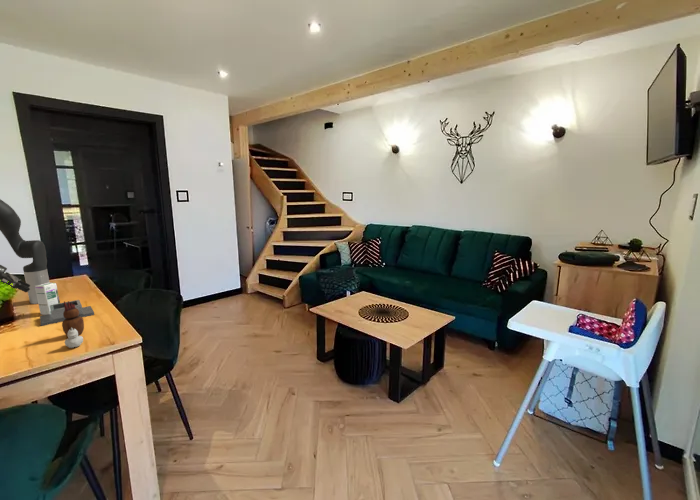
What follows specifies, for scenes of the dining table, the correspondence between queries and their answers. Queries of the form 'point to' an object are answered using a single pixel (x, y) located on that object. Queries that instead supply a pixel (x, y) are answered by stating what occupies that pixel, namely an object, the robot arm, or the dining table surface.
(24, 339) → the dining table surface
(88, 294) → the dining table surface
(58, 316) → the steel sleeve
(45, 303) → the syrup box
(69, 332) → the rubber duck
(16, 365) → the dining table surface
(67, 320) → the wooden figurine
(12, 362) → the dining table surface
